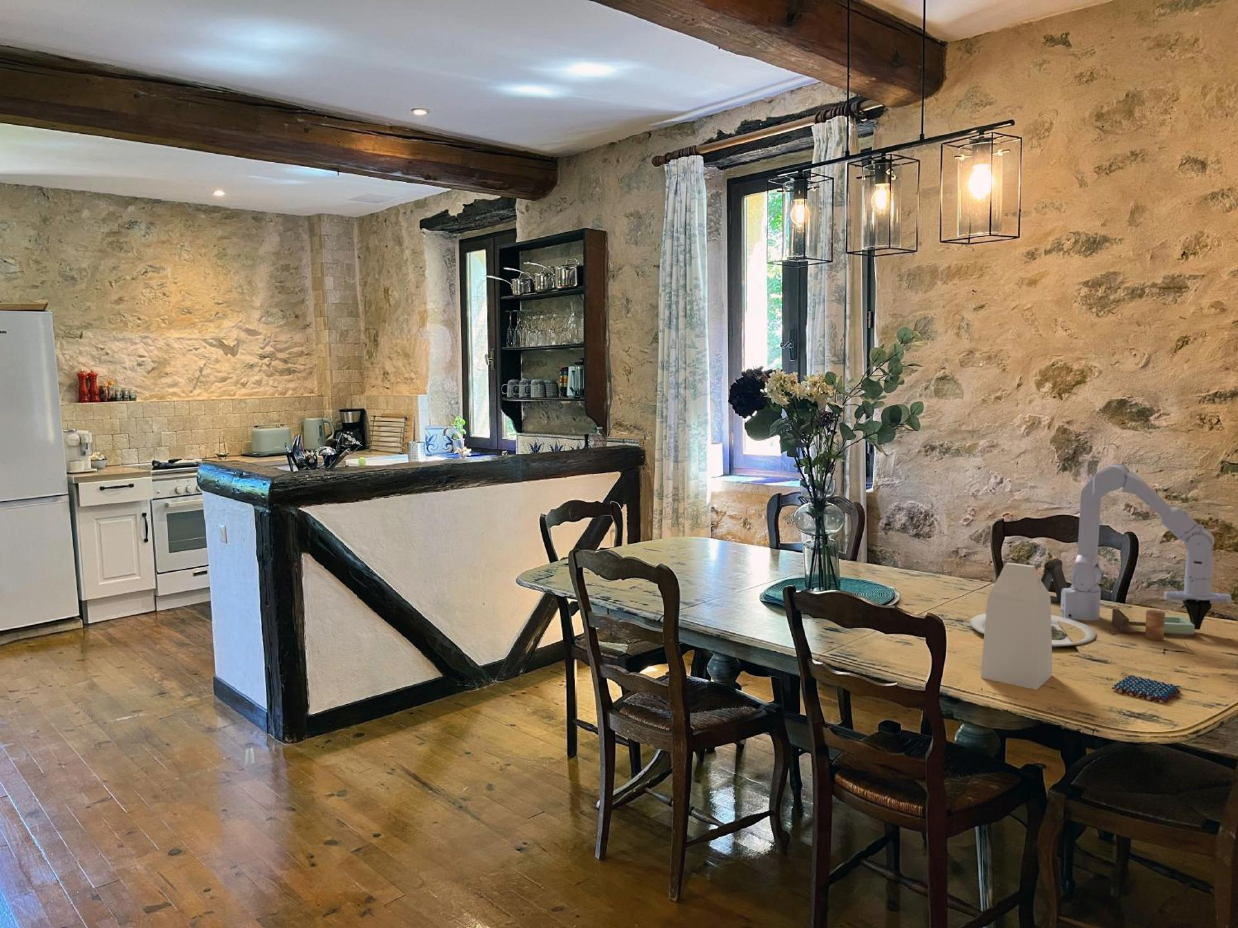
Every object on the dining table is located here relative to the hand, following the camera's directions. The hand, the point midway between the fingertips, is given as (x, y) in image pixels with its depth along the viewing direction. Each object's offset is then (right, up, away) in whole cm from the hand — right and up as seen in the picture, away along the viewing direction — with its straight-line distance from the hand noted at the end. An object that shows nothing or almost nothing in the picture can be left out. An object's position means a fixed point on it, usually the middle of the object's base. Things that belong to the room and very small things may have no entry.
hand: (1195, 628), depth 223 cm
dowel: (-13, -2, -4) cm, 14 cm away
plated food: (-39, -3, +6) cm, 40 cm away
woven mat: (-35, -7, -36) cm, 51 cm away
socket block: (-5, -1, +2) cm, 6 cm away
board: (-10, -2, 0) cm, 10 cm away
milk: (-58, -6, -26) cm, 64 cm away
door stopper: (-18, +1, +38) cm, 42 cm away
